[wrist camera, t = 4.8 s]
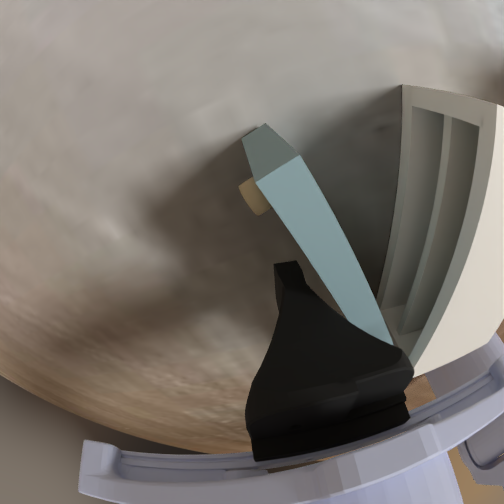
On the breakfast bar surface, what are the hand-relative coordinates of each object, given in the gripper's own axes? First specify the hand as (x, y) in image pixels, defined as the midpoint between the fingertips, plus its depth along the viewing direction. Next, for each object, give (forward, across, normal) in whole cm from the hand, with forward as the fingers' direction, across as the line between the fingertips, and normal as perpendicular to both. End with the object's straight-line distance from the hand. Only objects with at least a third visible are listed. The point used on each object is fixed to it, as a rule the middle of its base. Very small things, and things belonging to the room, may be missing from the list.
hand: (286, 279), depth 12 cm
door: (+2, -2, 0) cm, 3 cm away
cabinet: (+2, -11, -1) cm, 11 cm away
